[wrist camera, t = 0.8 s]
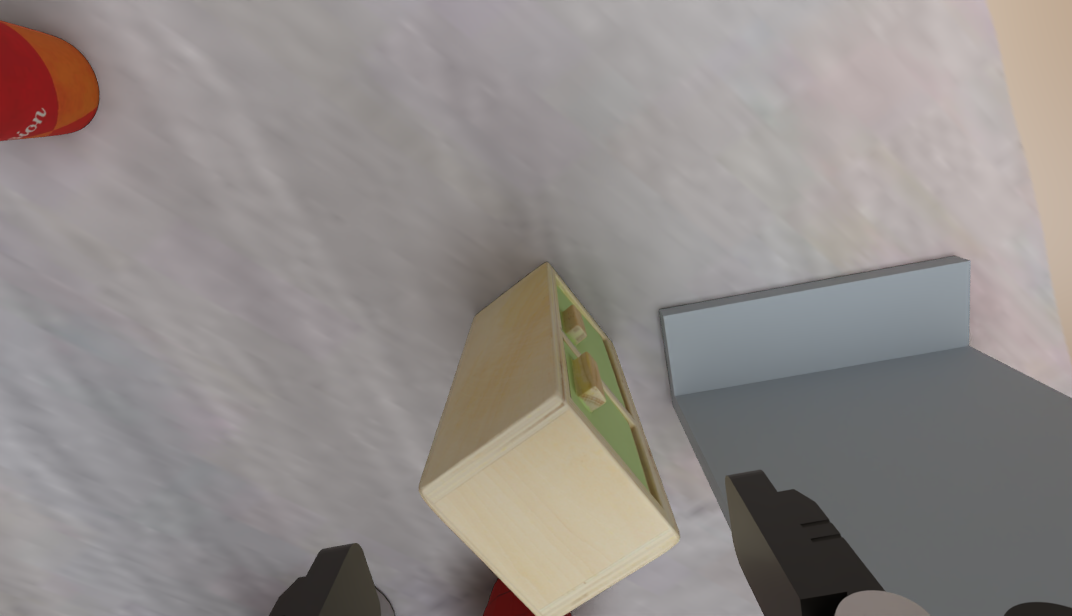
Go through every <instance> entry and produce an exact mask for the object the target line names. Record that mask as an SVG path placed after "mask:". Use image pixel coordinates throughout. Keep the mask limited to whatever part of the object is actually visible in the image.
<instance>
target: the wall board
mask: <svg viewBox="0 0 1072 616" xmlns="http://www.w3.org/2000/svg"><path fill="white" fill-rule="evenodd" d="M659 312H660V319H661V326H662V333H663V340H664V347H665V354H666V361H667V368H668V375H669V382H670V389H671V396H672V403H673V407H674V409H675V411H676V413H677V416H678V418H679V420H680V422H681V424H682V426H683V428H684V431H685V433H686V435H687V437H688V439H689V441H690V443H691V446H692V448H693V450H694V452H695V454H696V456H697V459H698V461H699V463H700V465H701V467H702V469H703V471H704V474H705V476H706V478H707V480H708V482H709V484H710V486H711V489H712V491H713V493H714V495H715V497H716V499H717V502H718V504H719V506H720V508H721V510H722V512H723V514H724V517H725V519H726V521H727V523H728V525H729V527H730V529H731V524H730V516H729V509H728V502H727V494H726V487H725V476H726V475H732V474H737V473H743V472H748V471H754V470H759V469H761V470H762V471H763V472H764V473H765V474H766V476H767V477H768V479H769V480H770V482H771V483H772V484H773V486H774V487H775V489H776V490H777V492H779V491H785V490H791V489H795V490H796V491H798V492H800V493H802V494H803V495H805V496H807V497H808V498H810V499H812V500H813V501H815V502H816V503H817V504H818V506H819V507H820V508H821V509H822V511H823V512H824V513H825V515H826V516H827V517H828V518H829V521H830V523H832V524H833V525H834V526H835V527H836V529H837V530H838V531H839V532H840V534H841V537H843V538H844V539H845V540H846V541H847V543H848V544H849V545H850V547H851V548H852V549H853V550H854V552H855V553H856V554H857V555H858V557H859V558H860V559H861V561H862V562H863V563H864V564H865V566H866V567H867V568H868V569H869V571H870V572H871V573H872V575H873V576H874V577H875V578H876V580H877V581H878V582H879V584H880V585H881V586H882V587H883V589H884V590H885V591H886V592H890V593H894V594H897V595H900V596H903V597H905V598H907V599H909V600H911V601H913V602H915V603H916V604H918V605H919V606H921V607H922V608H923V609H925V610H926V611H927V612H928V613H929V614H930V615H931V616H1004V614H1005V613H1006V612H1007V611H1008V610H1009V609H1010V608H1012V607H1013V606H1016V605H1018V604H1022V603H1027V602H1048V603H1054V604H1059V605H1063V606H1067V607H1070V608H1072V398H1070V397H1068V396H1066V395H1064V394H1062V393H1060V392H1059V391H1057V390H1055V389H1053V388H1051V387H1049V386H1047V385H1045V384H1043V383H1041V382H1039V381H1037V380H1035V379H1033V378H1031V377H1029V376H1027V375H1025V374H1023V373H1021V372H1019V371H1017V370H1015V369H1013V368H1011V367H1010V366H1008V365H1006V364H1004V363H1002V362H1000V361H998V360H996V359H994V358H992V357H990V356H988V355H986V354H984V353H982V352H980V351H978V350H976V349H974V348H972V347H970V346H969V316H970V260H967V259H963V258H960V257H957V256H952V257H946V258H941V259H935V260H930V261H924V262H919V263H913V264H908V265H902V266H897V267H891V268H886V269H880V270H875V271H869V272H864V273H858V274H853V275H847V276H842V277H836V278H831V279H825V280H820V281H814V282H809V283H803V284H798V285H792V286H787V287H781V288H776V289H770V290H765V291H759V292H754V293H748V294H743V295H737V296H732V297H726V298H721V299H715V300H710V301H704V302H699V303H693V304H688V305H682V306H677V307H671V308H666V309H660V310H659ZM731 532H732V531H731Z"/></svg>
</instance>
